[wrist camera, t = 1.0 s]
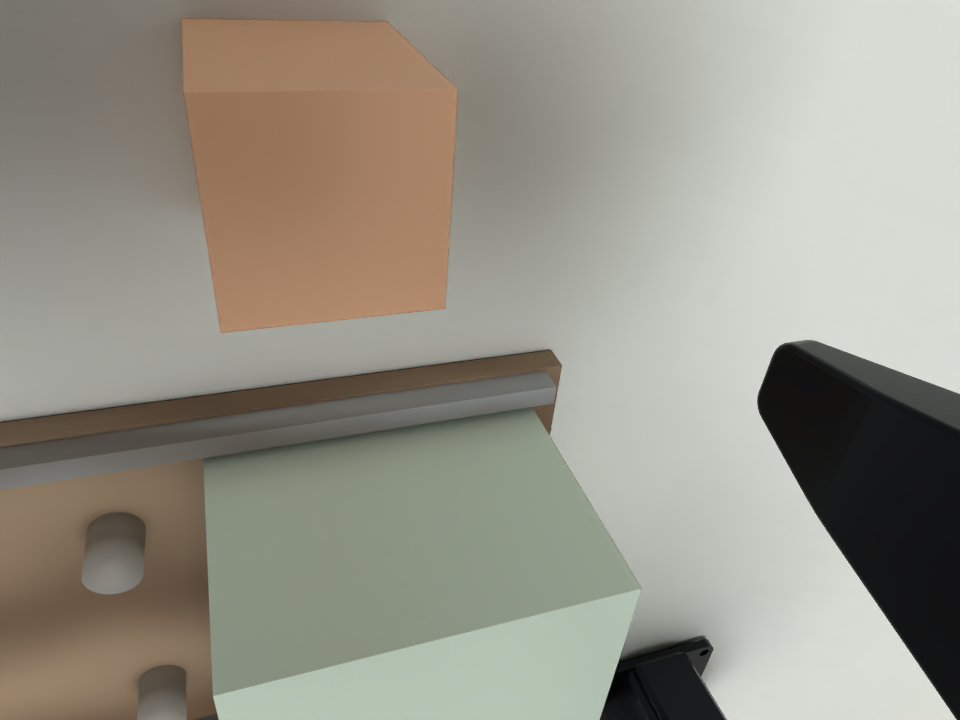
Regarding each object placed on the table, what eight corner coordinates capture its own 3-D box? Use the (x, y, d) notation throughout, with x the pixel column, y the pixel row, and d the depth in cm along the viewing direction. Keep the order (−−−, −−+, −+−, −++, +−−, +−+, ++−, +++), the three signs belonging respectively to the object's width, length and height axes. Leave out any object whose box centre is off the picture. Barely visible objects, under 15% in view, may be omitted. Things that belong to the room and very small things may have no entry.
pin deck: (505, 630, 30) (526, 681, 28) (-139, 794, 23) (-165, 874, 21) (551, 350, 22) (583, 396, 20) (-419, 477, 15) (-496, 564, 13)
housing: (493, 642, 28) (564, 827, 23) (251, 705, 25) (271, 931, 20) (528, 401, 21) (641, 588, 16) (202, 451, 18) (213, 696, 13)
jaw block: (386, 202, 17) (445, 308, 14) (210, 212, 16) (220, 333, 12) (386, 21, 15) (458, 89, 11) (181, 18, 14) (183, 92, 10)
